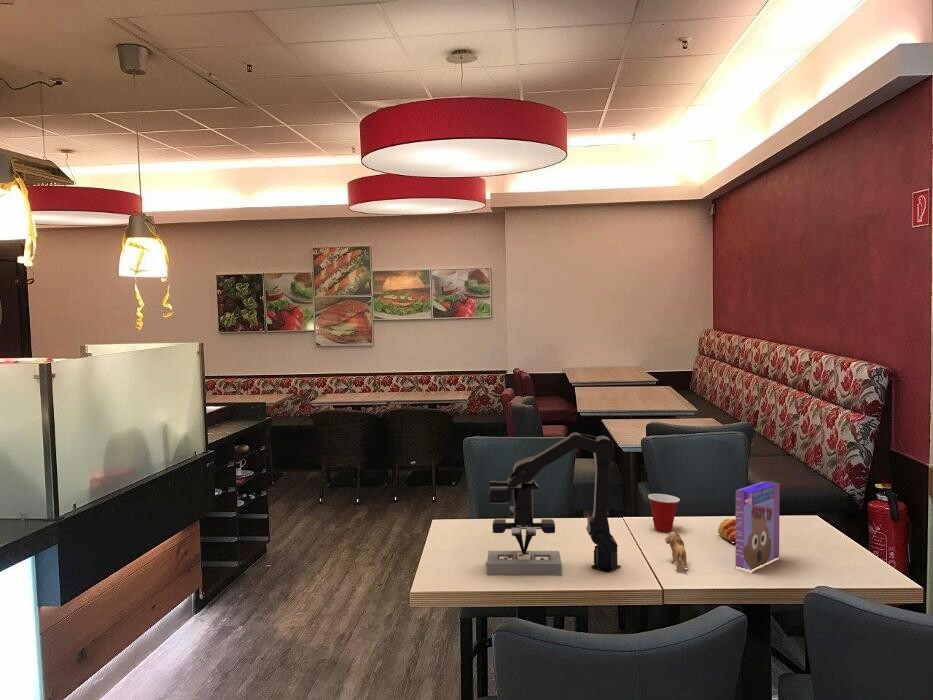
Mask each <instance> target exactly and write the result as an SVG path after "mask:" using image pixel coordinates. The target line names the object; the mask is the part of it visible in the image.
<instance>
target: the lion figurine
mask: <svg viewBox="0 0 933 700" xmlns="http://www.w3.org/2000/svg"><path fill="white" fill-rule="evenodd" d="M664 541H665V542H666V545H669V547H670V549H671V557H672V560H671V562H673V563H672V564H675V565H676V569H675V572H676V571H681V570H680V565H681V569H682V571H683V573H686V574H687V573H688V571H687V569H684V568H688V569H689V566H687V551H686V549H685V543H684V540H683V539H682V537H681V535H680V534H679V533H678V532H676V531H671V532H669V535H667V536H666V537H665V538H664ZM675 562H676V563H675ZM680 562H681V563H680ZM682 562H683V563H682ZM679 563H680V564H679Z"/></svg>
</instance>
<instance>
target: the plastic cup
mask: <svg viewBox="0 0 933 700" xmlns="http://www.w3.org/2000/svg"><path fill="white" fill-rule="evenodd" d="M647 497H648V500H649V503H650V505H649V506H650V511H651V514H652V515H651V516H652V521H653V527H654V531H655V532H659V533H670V531H671V530H673V527H674V521H675V516H676V512H677V511H676V510H677V507H678V504H679V502H680V500H681V499H680V498H679V497H677V496H674V495H669V494H664V493H649V494H648V496H647ZM671 532H672V531H671Z"/></svg>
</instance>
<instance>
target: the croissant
mask: <svg viewBox="0 0 933 700" xmlns="http://www.w3.org/2000/svg"><path fill="white" fill-rule="evenodd" d="M717 533H719V534H720V536H722V537H723V538H725V539H727V540H726V541H728V540H729V541H730V542H729V541H728V542H729V543H731V542H734V543H736V518H725V519H723V520H722V521H721V522H720V524H719V526H718V529H717ZM719 534H718V535H719ZM722 537H721V538H722ZM723 538H722V539H723ZM725 539H724V540H725ZM734 543H733V544H734Z"/></svg>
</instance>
